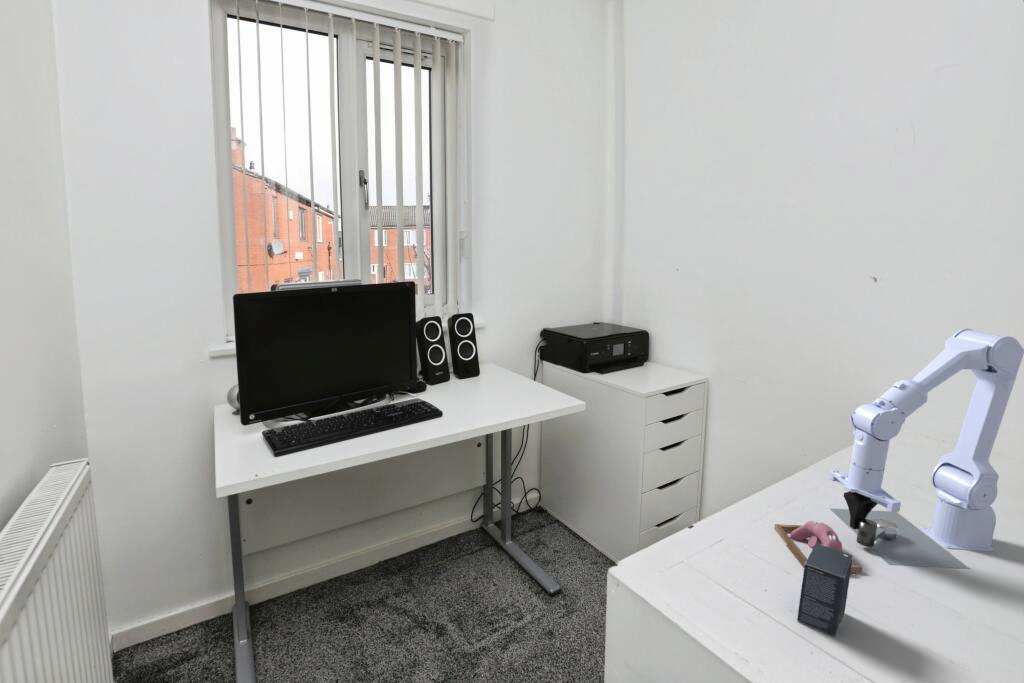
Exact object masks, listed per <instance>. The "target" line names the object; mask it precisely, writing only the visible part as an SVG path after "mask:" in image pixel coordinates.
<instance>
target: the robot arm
mask: <svg viewBox="0 0 1024 683" xmlns="http://www.w3.org/2000/svg"><path fill="white" fill-rule="evenodd" d="M944 343H945V344H944V349H943V350H942V351H941V352H940V353H939V354H938V355H937V356H935V358H934V359H932V360H931V361H930V362H929V363H928V364H927V365H926V366H925V367H924V368H923V369H922V370H921V371H919V372H918V374H916V375H915V376H914V377H913V378H912V379H900V380H899V381H896V382H894V383H893V384H892V387H890V388H889V389H888V390H887V391H885V392H884V393H883V394H882V395H880V396H879V397H878V398H876V399H875V400H874V401H872V402H871V403H864V404H861V405H860V406H859V405H858V407H856V409H854V411H853V414H851V415H850V417H849V418H850V419H849V421H850V424H851V426H852V427H853V434H852V436H853V437H854V441H853V445H852V446H853V447H852V451H851V458H850V464H849V469H848V473H845V472H843V471H840V470H838V469H837V470H830V474H829V480H830V481H832V482H837V483H839V484H841V485H842V486H844V487H843V489H844V490H845V491H846V492H843V498H844V499H845V502H846V505H847V507H848V508H847V509H849V512H850V517H851V518H850V527H851V528H853V529H858V527H859V521H860V519H865V518H866V517H867V515H868V514H869V512H870V511H871V510H872V511H873V509H874V508H875V507H876V506H877V505H880V506H881V507H884V508H885V509H886V511H890V512H898V513H899V512H900V510H901V505H902V502H901V501H900V500H898V499H897V498H894V496H892V495H891V494H889V493H888V492H887V491H886V490H884V489H883V488H882V486H883V480H884V474H885V469H886V463H887V457H888V452H889V447H890V441H891V439H893V438H894V437H897V436H898V435H899V433H900V431H901V429H902V426H903V424H905V421H906V419H907V418H908V417H910V416H911V415H912V414H913V413H915V412H916V411H917V410H919V409H920V408H921V407H923V405H925V404H926V403H927V401H928V393H929V392H931V391H932V390H934V389H935V388H937V387H938V386H940V385H941V384H942V383H944V382H945V381H947V380H949V379H951V378H952V377H953V376H954V375H956V374H957V373H959V372H961V371H962V370H970V371H971V372H972V373H973V374H974V375H975V377H976V378H977V380H976V384H975V387H974V389H973V393H972V396H971V399H970V402H969V405H968V409H967V410H966V415H965V417H964V420H963V424H962V426H961V427H962V428H961V430H960V433H959V437H958V439H957V442H956V446H955V448H954V451H951V452H949V453H945V454H943V455H941V456H940V459H939V462H937V465H936V466H934V468H933V470H932V471H931V474H930V482H931V485H932V486H933V487H934V489H935V491H934V493H935V494H937V499H936V504H935V509H934V514H933V519H932V524H931V527H926V526H924V527H923V526H920V530H921V531H922V532H923V533H925V534H926V535H927V536H929V537H930V538H931V539H932V540H934V541H935V542H936V543H938V544H939V545H940V546H941V547H943V548H944V549H946V550H965V551H966V550H967V551H968V550H969V551H981V552H982V551H984V552H986V551H987V552H994V548H993V547H991V546H992V542H993V537H994V533H995V528H996V524H997V516H996V513H995V511H994V508H993V507H992V506H991V505H992V504H994V502H995V501H996V499H997V497H998V480H999V478H1000V477H999V474H998V472H997V471H996V469H995V468H994V467H993V466H992V464H991V462H989V459H990V456H991V453H992V451H993V447H994V445H995V441H996V438H997V435H998V433H999V429H1000V426H1001V423H1002V420H1003V417H1004V415H1005V411H1006V409H1007V406H1008V403H1009V401H1010V400H1009V399H1010V397H1011V394H1012V392H1013V388H1014V385H1015V382H1016V379H1017V375H1018V372H1019V370H1020V366H1021V363H1022V360H1023V357H1024V347H1023V346H1022V345H1021V343H1020V342H1019V340H1018V339H1017V338H1015V337H1013V336H1009V335H999V334H995V333H989V332H983V331H978V330H975V329H971V328H961V329H958V330H957V331H956V332H955V333H953V335H952V336H951V337H949V338H947V339H946V341H945V342H944Z"/></svg>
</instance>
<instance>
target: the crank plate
mask: <svg viewBox="0 0 1024 683" xmlns="http://www.w3.org/2000/svg"><path fill="white" fill-rule="evenodd" d="M828 508H829V507H828ZM829 510H830V511H831V512H833V514H834V515H836V516H837V517H838V518H839V519H840V520H841V521H842V522H843V523H844V524H845V525H846V526H847V527H848V528H849V529H851V530H852V531H853V533H855V534H856V535H857V533H858V529H853V528H851V527H850V518H851V517H850V512H849V508H829ZM865 519H869V520H872V521H873V520H874V519H883V520H887V521H890V522H892V523H894V524H896V525H897V526H898V530H897V536H896V539H893V540H889V539H884V538H878V539H877V540H875V542H874V546H873V547H870V548H871V549H872V550H873V551H874V552H875V553H876V554H877V555H878V556H879V557H880V558H881V559H882V560H883V561H884V562H885V563H887V564H888V566H889V565H890V566H904V567H906V566H908V567H927V568H941V569H942V568H944V569H965V570H971V568H970V567H969V566H967V565H966V564H964V562H962V561H961V560H959V559H958V558H957V557H956V556H955V555H953V554H952V553H950V552H949V551H948V549H946V548H945V547H943V546H942V545H941V544H940V543H938V542H937V541H936V540H934V539H933V538H932V537H930V536H929V535H928V534H927V533H925V532H924V531H923V530H921V529H920V528H918V527H917V526H916V525H914V524H913V523H912V522H910V521H909V520H908V519H906V518H905V517H904V516H903V515H901V514H900V513H899V512H890V511H888V510H873V509H872V510H871V511H870V512H869V514H868V515H867V517H866V518H865Z"/></svg>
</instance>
